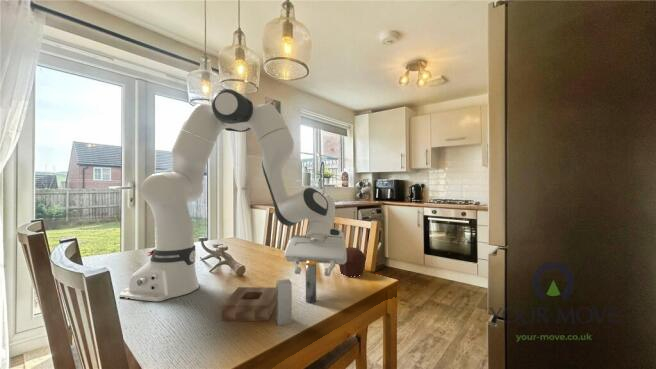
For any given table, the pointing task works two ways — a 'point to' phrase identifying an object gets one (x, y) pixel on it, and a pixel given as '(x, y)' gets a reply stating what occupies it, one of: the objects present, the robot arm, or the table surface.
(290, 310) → the square bit
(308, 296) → the round bit
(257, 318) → the socket block
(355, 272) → the muffin
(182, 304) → the table surface
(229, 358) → the table surface
